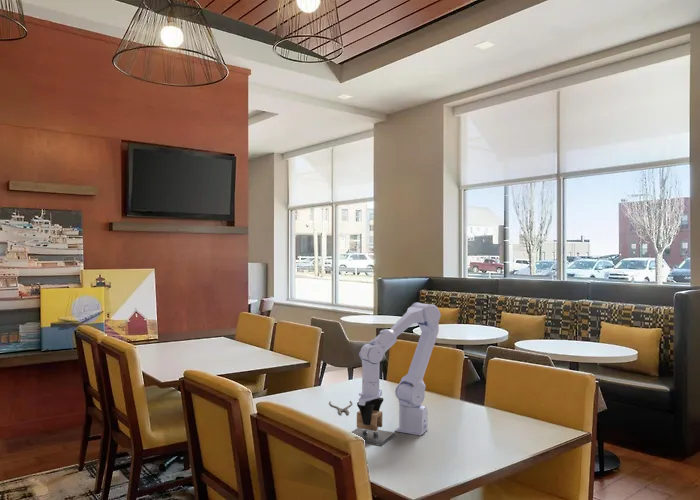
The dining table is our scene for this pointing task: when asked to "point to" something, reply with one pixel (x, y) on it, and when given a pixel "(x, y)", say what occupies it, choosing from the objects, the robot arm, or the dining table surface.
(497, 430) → the dining table surface
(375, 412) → the box
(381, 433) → the base plate
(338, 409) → the pliers
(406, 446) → the dining table surface
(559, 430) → the dining table surface
